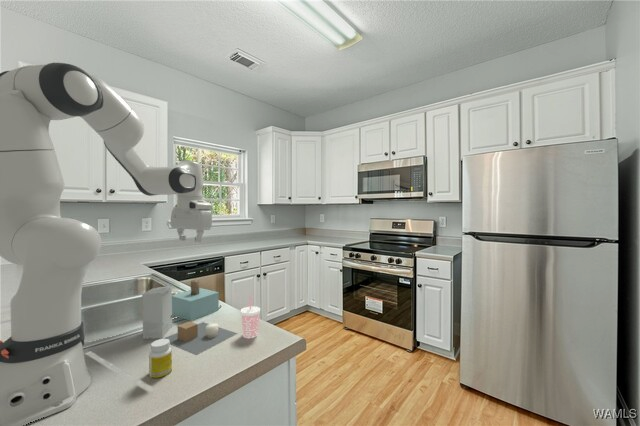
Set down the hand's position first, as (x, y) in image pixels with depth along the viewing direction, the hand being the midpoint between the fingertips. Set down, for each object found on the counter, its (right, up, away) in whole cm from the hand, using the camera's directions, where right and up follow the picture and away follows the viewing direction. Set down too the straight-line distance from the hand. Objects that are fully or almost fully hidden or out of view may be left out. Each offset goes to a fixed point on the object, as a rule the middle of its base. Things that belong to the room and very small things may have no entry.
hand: (190, 241), depth 105 cm
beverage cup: (+27, -29, -17) cm, 43 cm away
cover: (+1, -28, +1) cm, 28 cm away
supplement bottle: (+10, -30, -37) cm, 49 cm away
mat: (+12, -29, -18) cm, 36 cm away
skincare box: (-3, -29, -16) cm, 33 cm away
